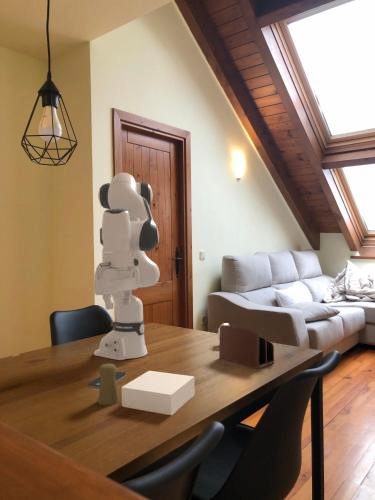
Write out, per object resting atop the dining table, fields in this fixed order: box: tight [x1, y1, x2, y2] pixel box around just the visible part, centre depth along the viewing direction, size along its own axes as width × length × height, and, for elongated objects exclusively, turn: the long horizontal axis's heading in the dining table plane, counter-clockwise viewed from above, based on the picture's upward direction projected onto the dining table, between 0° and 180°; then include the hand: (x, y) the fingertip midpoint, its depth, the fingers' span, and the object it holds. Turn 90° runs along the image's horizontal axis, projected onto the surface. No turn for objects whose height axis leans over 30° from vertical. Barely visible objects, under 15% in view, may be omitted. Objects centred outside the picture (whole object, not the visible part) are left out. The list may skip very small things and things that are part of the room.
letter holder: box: [218, 325, 275, 369], centre depth 161 cm, size 10×20×14 cm, turn 42°
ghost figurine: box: [216, 322, 231, 341], centre depth 184 cm, size 9×10×10 cm
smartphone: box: [87, 371, 127, 389], centre depth 142 cm, size 8×1×15 cm
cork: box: [97, 363, 119, 406], centre depth 123 cm, size 6×6×11 cm
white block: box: [121, 370, 196, 416], centre depth 123 cm, size 16×16×6 cm
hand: (118, 307), depth 126 cm, fingers open, 8 cm apart
